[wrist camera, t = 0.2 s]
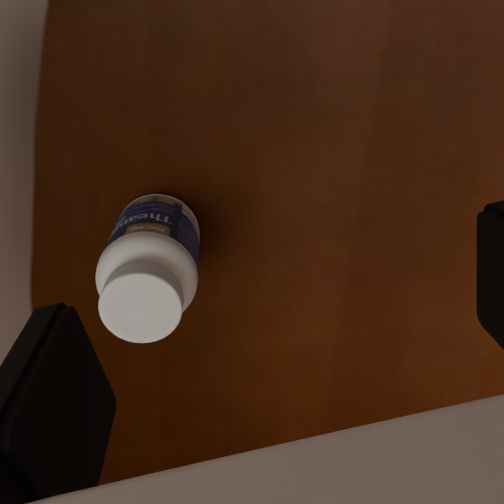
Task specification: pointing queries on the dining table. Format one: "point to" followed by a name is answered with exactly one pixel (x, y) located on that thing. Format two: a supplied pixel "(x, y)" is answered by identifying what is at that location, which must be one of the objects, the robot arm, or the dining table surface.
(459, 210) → the dining table surface
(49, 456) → the robot arm
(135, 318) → the pill bottle
